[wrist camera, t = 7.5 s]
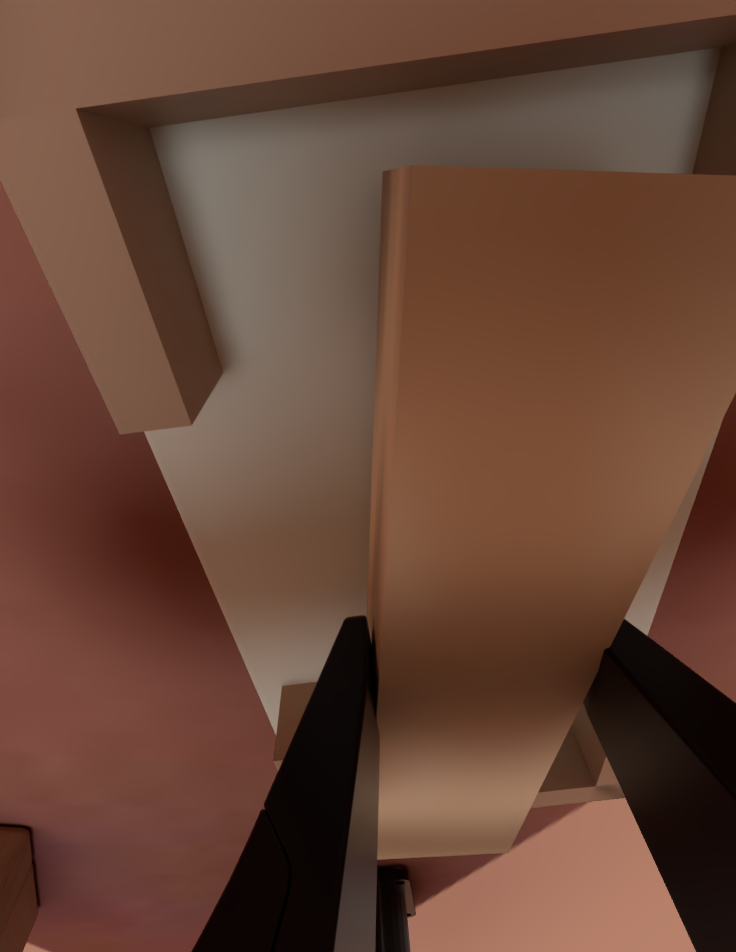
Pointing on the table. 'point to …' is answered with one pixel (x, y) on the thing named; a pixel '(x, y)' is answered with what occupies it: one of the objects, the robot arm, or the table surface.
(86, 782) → the table surface
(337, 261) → the slat board
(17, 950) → the wooden block
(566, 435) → the slat
